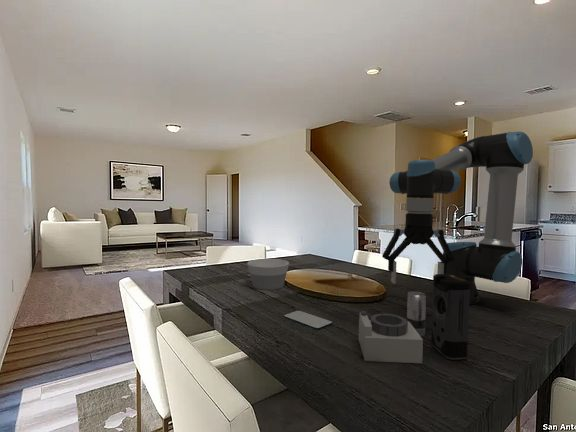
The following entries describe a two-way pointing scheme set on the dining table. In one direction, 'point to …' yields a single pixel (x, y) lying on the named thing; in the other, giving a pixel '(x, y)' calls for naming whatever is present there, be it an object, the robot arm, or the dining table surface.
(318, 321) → the smartphone
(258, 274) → the bowl
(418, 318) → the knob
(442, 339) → the electronic device
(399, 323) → the grey base with ring
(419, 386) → the dining table surface
